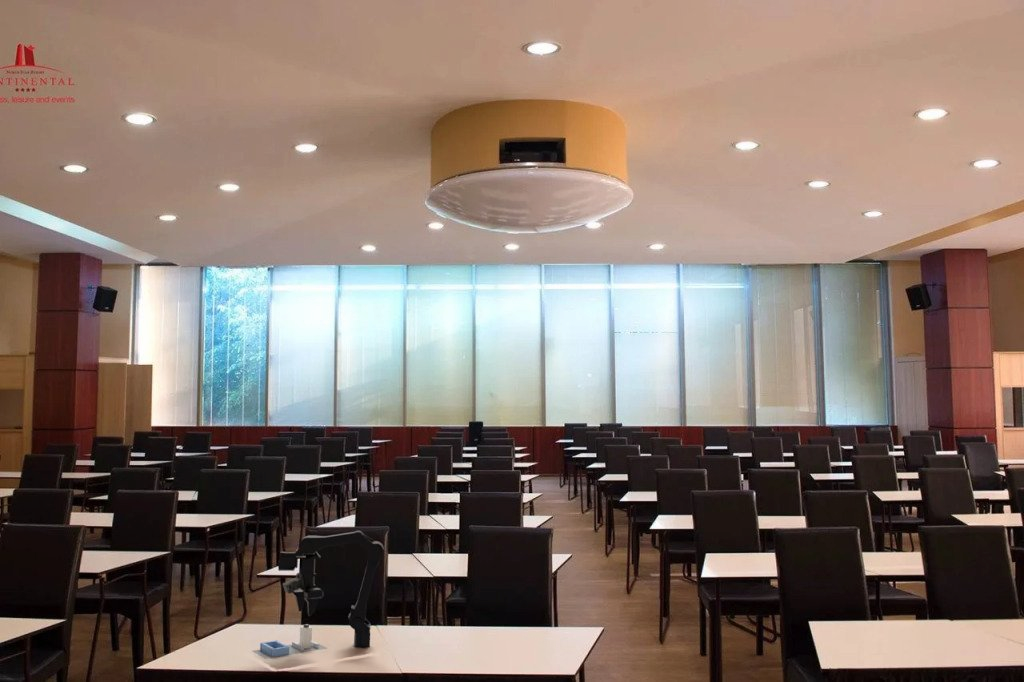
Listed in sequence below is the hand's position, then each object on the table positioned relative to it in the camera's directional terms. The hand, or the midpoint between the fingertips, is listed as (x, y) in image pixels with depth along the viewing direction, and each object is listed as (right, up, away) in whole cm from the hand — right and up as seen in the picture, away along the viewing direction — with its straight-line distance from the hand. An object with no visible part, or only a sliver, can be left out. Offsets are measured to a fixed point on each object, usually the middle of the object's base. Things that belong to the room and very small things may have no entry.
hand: (304, 613), depth 315 cm
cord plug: (+1, -12, -2) cm, 12 cm away
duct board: (-4, -12, -6) cm, 14 cm away
